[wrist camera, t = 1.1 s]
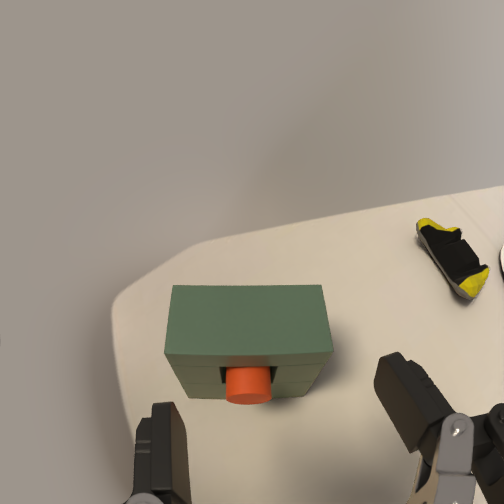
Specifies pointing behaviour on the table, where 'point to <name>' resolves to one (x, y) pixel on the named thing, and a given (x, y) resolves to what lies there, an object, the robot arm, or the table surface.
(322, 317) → the block
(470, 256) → the toy running shoe
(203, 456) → the table surface
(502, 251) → the plate
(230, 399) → the push knob
